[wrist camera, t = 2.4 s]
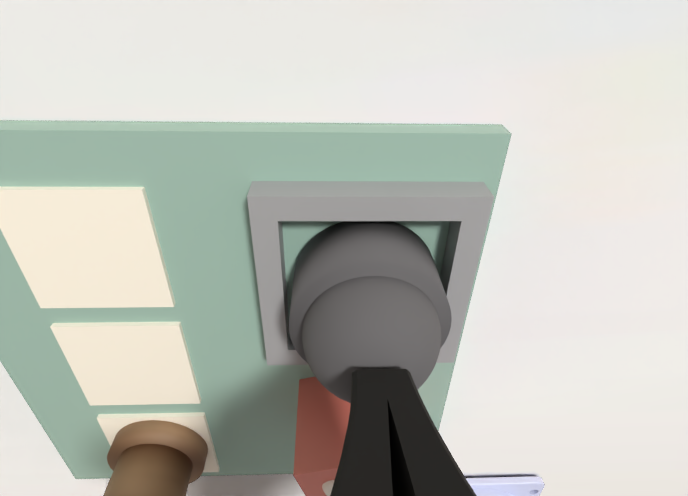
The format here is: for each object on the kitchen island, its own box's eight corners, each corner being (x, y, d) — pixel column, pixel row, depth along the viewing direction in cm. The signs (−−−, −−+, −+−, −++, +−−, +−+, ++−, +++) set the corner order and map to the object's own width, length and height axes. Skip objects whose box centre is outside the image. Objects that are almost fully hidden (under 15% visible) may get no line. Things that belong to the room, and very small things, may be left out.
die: (408, 417, 20) (426, 520, 16) (324, 432, 20) (324, 536, 17) (393, 361, 17) (410, 466, 14) (299, 379, 18) (292, 485, 14)
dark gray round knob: (425, 328, 16) (455, 442, 12) (296, 329, 16) (287, 446, 12) (444, 217, 13) (491, 320, 10) (290, 217, 13) (276, 323, 9)
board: (425, 455, 23) (432, 489, 22) (83, 463, 22) (65, 499, 21) (501, 124, 13) (524, 146, 11) (-122, 119, 12) (-184, 142, 11)
